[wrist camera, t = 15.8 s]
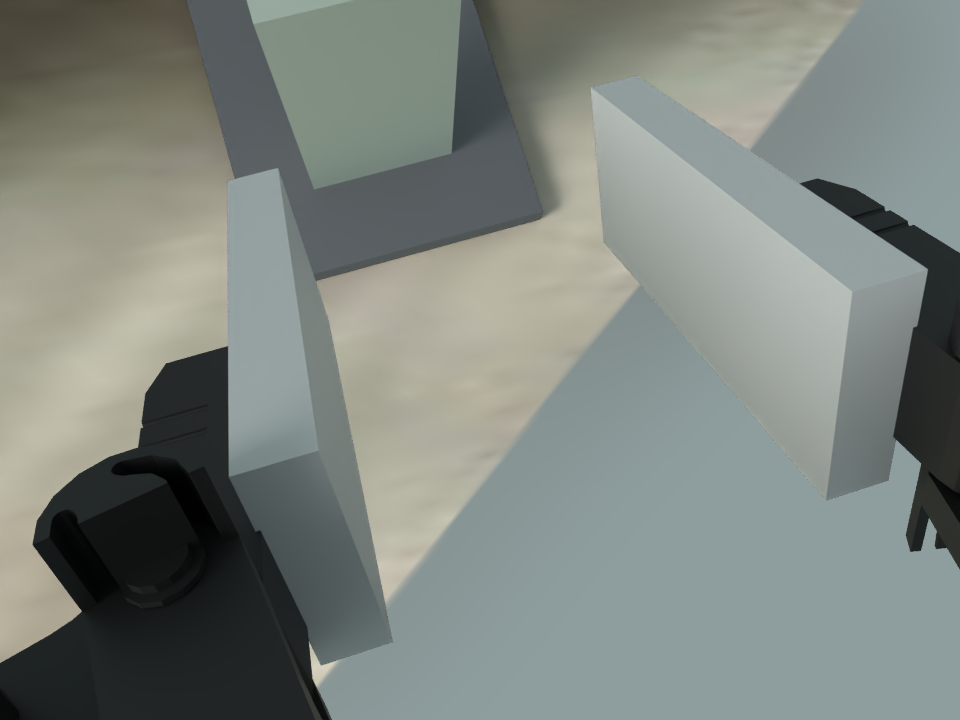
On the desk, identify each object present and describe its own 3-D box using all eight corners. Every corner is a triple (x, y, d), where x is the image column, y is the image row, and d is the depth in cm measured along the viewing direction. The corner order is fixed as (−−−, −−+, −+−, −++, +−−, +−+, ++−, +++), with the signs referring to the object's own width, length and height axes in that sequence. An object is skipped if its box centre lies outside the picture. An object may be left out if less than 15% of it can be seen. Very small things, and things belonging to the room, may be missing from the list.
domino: (313, 189, 28) (253, 24, 19) (299, 137, 29) (231, -53, 19) (451, 153, 29) (462, -26, 19) (435, 102, 29) (438, -100, 19)
